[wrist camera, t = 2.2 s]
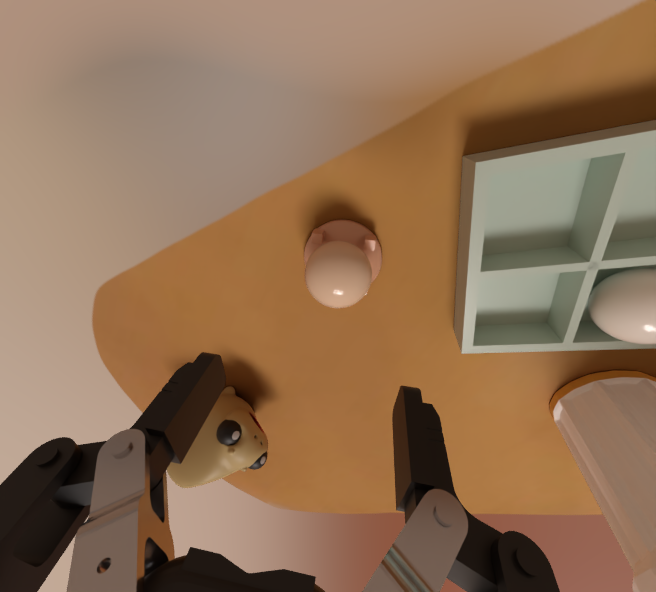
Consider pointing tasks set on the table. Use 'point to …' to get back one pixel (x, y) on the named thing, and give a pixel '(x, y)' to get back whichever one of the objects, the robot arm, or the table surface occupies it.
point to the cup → (617, 457)
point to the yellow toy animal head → (223, 444)
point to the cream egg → (626, 305)
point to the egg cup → (347, 240)
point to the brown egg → (338, 274)
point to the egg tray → (552, 238)
